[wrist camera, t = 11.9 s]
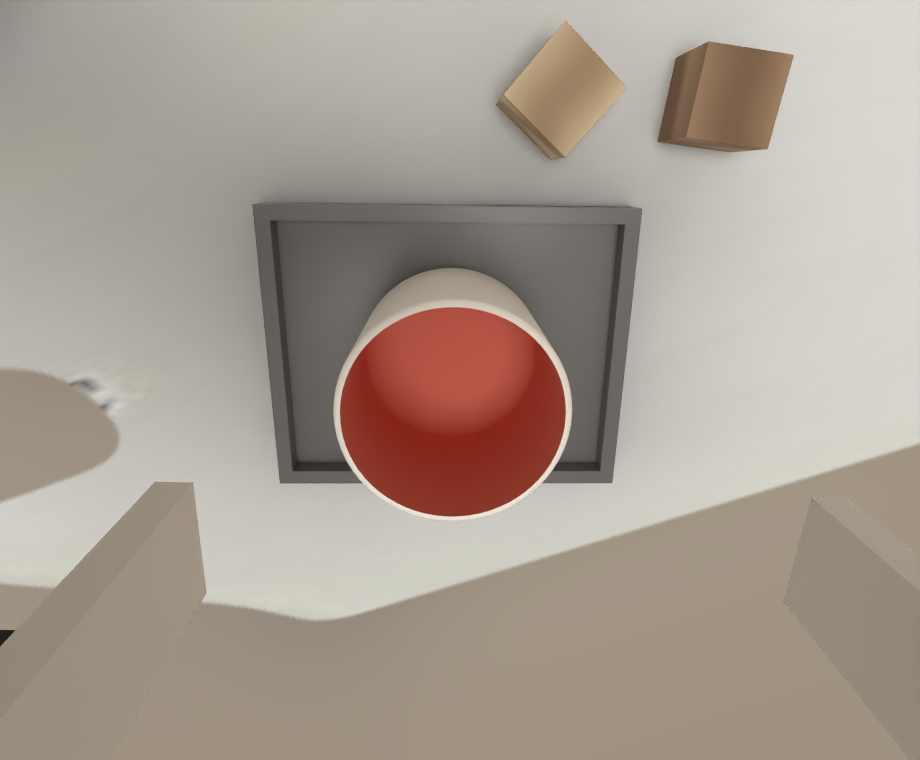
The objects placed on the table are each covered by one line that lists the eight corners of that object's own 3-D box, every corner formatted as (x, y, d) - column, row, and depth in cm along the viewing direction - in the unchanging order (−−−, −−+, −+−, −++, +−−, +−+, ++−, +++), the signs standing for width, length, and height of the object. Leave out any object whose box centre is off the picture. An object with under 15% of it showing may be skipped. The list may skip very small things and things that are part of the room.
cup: (444, 461, 36) (444, 561, 27) (327, 345, 34) (281, 410, 24) (572, 357, 34) (620, 426, 25) (458, 225, 32) (464, 245, 22)
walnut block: (657, 141, 31) (686, 137, 28) (675, 58, 30) (708, 41, 26) (728, 152, 32) (767, 148, 28) (750, 69, 30) (793, 55, 27)
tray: (288, 467, 37) (279, 483, 35) (264, 202, 32) (252, 204, 30) (603, 467, 37) (612, 482, 36) (630, 206, 32) (642, 208, 30)
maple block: (496, 104, 31) (503, 94, 27) (549, 40, 30) (565, 20, 26) (550, 159, 32) (564, 157, 28) (604, 98, 31) (627, 87, 27)
